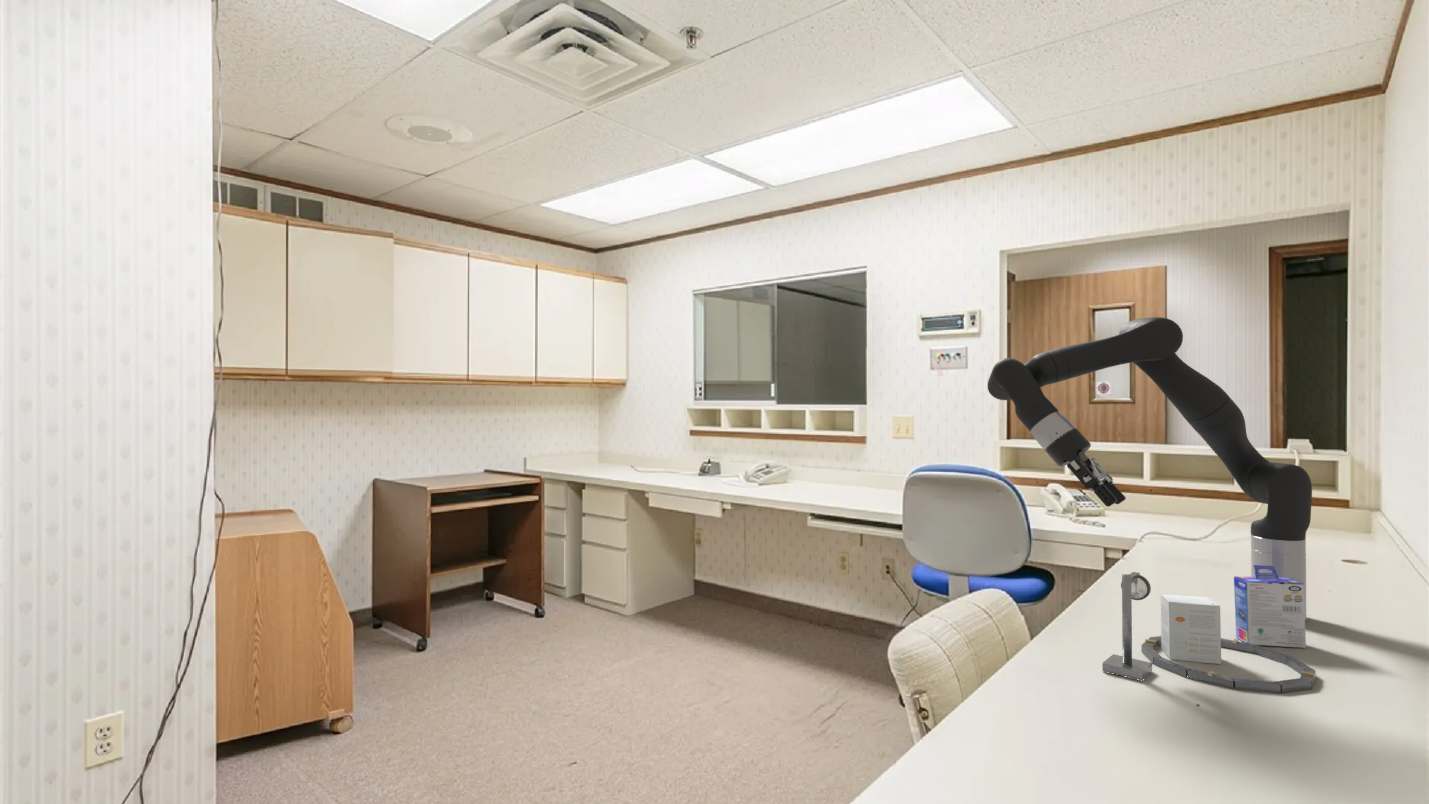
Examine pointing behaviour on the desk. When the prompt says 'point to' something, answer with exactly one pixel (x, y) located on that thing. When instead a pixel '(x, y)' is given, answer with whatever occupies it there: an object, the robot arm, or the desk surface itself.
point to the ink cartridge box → (1270, 609)
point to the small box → (1191, 628)
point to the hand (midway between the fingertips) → (1117, 503)
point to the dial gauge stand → (1129, 630)
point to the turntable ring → (1244, 684)
